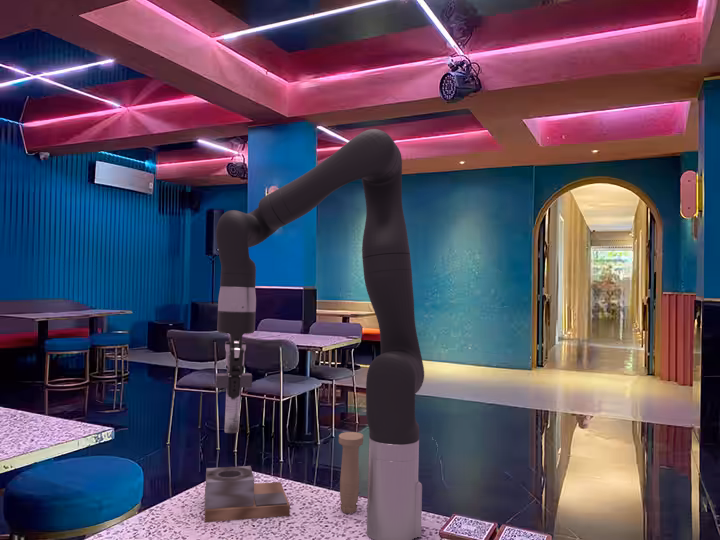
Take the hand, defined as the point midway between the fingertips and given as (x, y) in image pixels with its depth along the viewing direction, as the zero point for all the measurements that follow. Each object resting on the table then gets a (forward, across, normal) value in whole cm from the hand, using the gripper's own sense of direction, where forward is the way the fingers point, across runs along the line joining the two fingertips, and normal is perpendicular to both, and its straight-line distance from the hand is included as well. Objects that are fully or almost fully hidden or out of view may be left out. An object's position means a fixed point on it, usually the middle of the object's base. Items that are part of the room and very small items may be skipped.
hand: (233, 394), depth 111 cm
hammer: (+7, 0, 0) cm, 7 cm away
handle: (+23, -6, -23) cm, 33 cm away
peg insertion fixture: (+23, +2, -3) cm, 23 cm away
